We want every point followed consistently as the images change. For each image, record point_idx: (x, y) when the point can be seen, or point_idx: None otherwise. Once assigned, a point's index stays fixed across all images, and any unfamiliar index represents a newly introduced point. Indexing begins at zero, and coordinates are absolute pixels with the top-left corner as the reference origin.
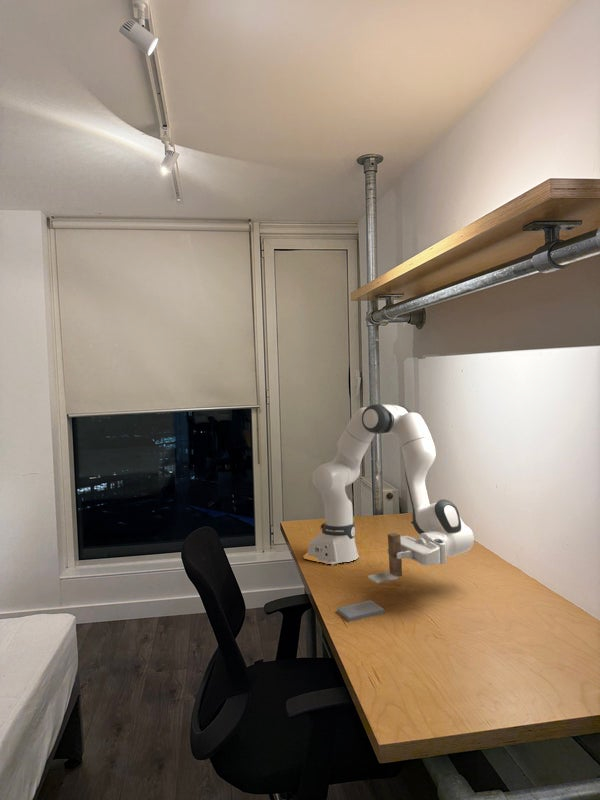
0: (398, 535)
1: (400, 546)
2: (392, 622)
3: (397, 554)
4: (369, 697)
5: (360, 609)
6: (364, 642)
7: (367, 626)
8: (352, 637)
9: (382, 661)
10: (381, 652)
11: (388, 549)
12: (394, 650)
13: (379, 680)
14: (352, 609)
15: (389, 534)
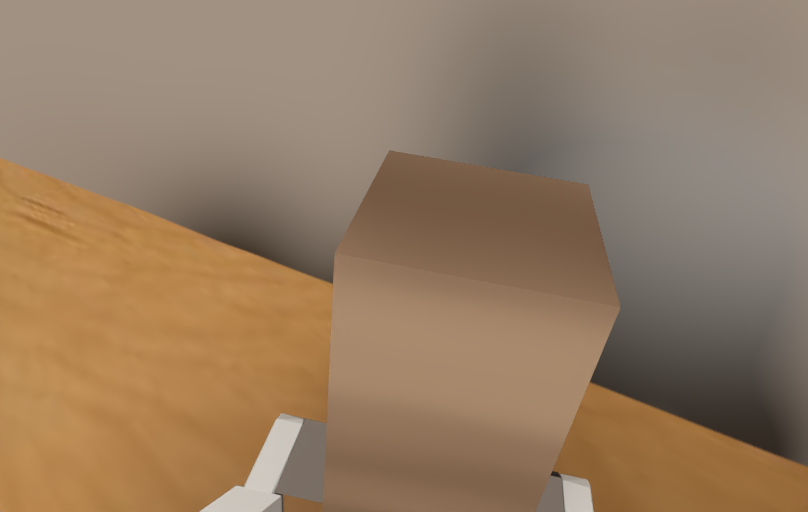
0: (351, 230)
1: (328, 472)
2: (190, 493)
3: (282, 415)
4: (16, 177)
5: None
6: (194, 304)
7: (275, 386)
8: (259, 303)
9: (57, 267)
10: (90, 295)
11: (565, 475)
12: (43, 325)
13: (20, 216)
14: None
15: (546, 186)
